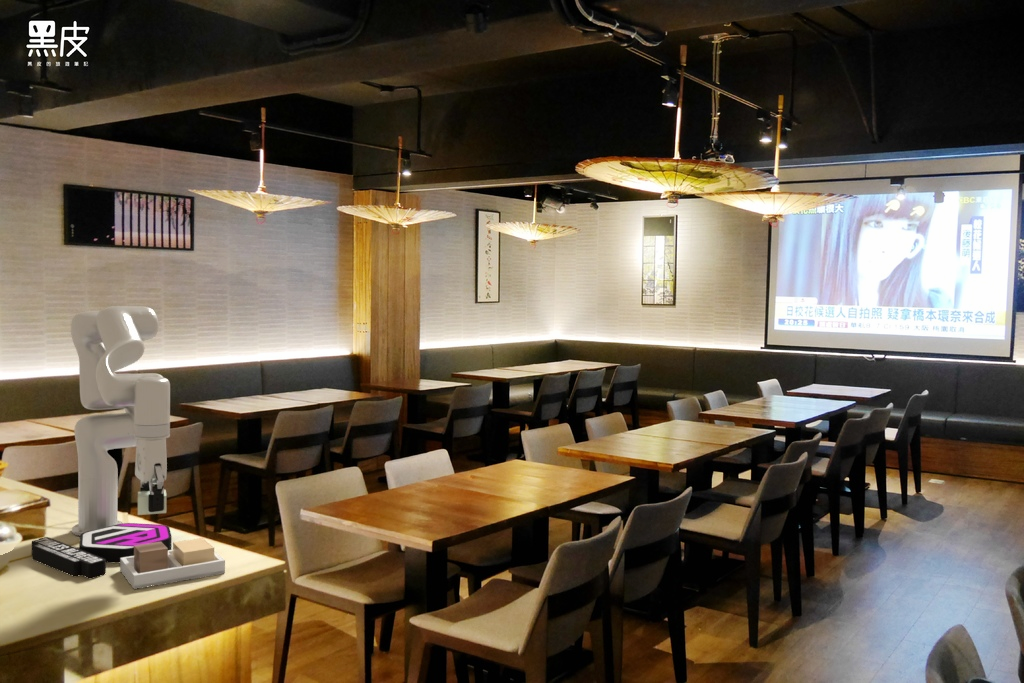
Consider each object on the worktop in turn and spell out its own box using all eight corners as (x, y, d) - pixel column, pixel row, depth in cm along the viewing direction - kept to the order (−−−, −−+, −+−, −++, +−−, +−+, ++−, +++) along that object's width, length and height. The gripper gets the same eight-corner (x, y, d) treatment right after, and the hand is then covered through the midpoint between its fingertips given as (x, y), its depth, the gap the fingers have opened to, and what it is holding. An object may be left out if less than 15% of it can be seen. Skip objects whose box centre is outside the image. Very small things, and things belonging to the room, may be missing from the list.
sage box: (137, 508, 193) (137, 491, 193) (165, 506, 196) (165, 489, 195) (137, 515, 188) (137, 497, 188) (166, 512, 190) (166, 495, 190)
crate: (120, 571, 195) (120, 547, 195) (206, 556, 207) (206, 534, 207) (134, 589, 184) (134, 564, 184) (224, 573, 196) (225, 549, 196)
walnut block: (133, 570, 194) (134, 545, 193) (161, 566, 197) (161, 541, 197) (140, 578, 189) (140, 552, 189) (167, 573, 193) (167, 548, 192)
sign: (83, 582, 189) (198, 550, 214) (83, 566, 188) (198, 535, 213) (23, 557, 204) (136, 530, 229) (23, 542, 203) (136, 516, 228)
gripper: (126, 426, 195) (125, 501, 196) (144, 438, 181) (143, 518, 183) (159, 424, 200) (159, 497, 201) (179, 435, 186) (179, 513, 187)
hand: (151, 506), depth 192 cm, fingers closed on sage box, 6 cm apart
